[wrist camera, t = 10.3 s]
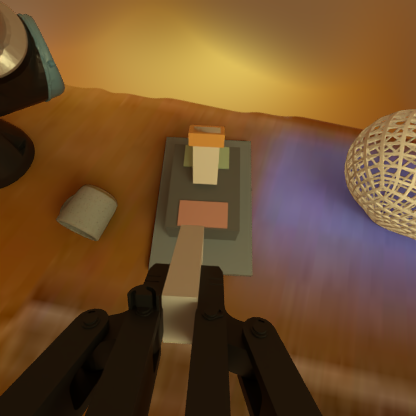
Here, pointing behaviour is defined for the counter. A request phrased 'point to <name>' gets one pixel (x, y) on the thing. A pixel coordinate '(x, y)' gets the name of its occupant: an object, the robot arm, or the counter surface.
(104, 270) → the counter surface
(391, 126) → the heart
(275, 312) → the counter surface
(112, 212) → the ceramic mug
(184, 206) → the breaker box
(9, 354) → the counter surface
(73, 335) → the robot arm
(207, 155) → the breaker lever
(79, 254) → the counter surface
